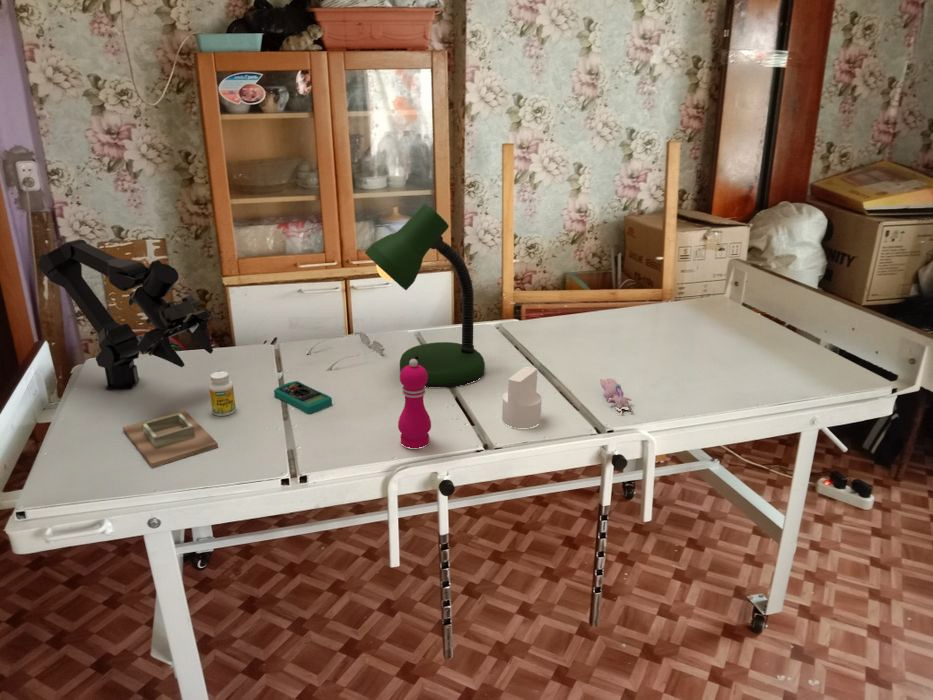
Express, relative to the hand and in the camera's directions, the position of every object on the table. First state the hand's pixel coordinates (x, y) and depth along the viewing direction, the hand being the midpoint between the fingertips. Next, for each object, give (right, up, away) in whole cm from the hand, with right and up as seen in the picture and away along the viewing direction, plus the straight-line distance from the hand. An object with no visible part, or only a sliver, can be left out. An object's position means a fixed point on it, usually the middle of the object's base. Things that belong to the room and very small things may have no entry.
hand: (197, 359), depth 177 cm
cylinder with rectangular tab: (+76, -15, -1) cm, 77 cm away
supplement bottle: (+5, -13, +2) cm, 14 cm away
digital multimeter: (+23, -11, +8) cm, 27 cm away
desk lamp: (+53, -4, +25) cm, 58 cm away
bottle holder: (-2, -18, -10) cm, 21 cm away
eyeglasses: (+29, 0, +35) cm, 45 cm away
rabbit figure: (+100, -11, +9) cm, 101 cm away
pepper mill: (+52, -18, -11) cm, 56 cm away
